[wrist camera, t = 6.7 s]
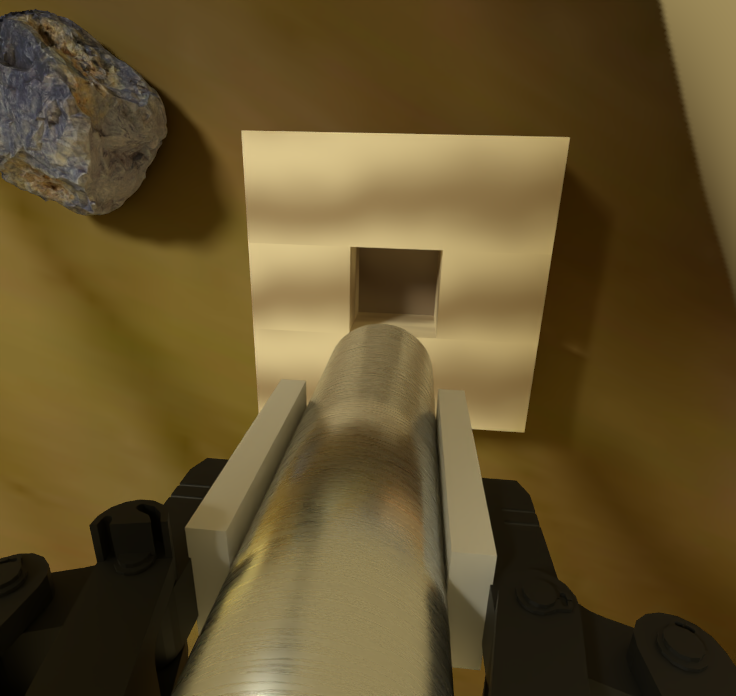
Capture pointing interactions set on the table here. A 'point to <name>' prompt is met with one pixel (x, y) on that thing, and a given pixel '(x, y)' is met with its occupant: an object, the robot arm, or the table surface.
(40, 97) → the rock
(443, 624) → the pin
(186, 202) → the table surface
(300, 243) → the bore block
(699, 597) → the table surface
